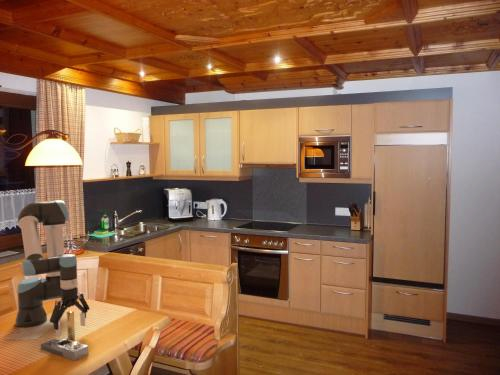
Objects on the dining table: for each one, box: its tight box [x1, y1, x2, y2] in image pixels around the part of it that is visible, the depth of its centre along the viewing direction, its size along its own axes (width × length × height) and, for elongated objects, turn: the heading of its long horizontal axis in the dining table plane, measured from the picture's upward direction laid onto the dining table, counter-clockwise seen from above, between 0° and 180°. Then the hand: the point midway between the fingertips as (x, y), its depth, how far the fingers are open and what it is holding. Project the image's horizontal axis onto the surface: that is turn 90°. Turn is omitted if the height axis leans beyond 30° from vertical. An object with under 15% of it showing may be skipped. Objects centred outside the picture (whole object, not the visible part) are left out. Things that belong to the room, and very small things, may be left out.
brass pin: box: [66, 310, 76, 342], centre depth 200 cm, size 3×3×14 cm
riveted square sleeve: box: [40, 337, 89, 362], centre depth 189 cm, size 24×7×5 cm, turn 60°
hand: (71, 330), depth 200 cm, fingers open, 13 cm apart
